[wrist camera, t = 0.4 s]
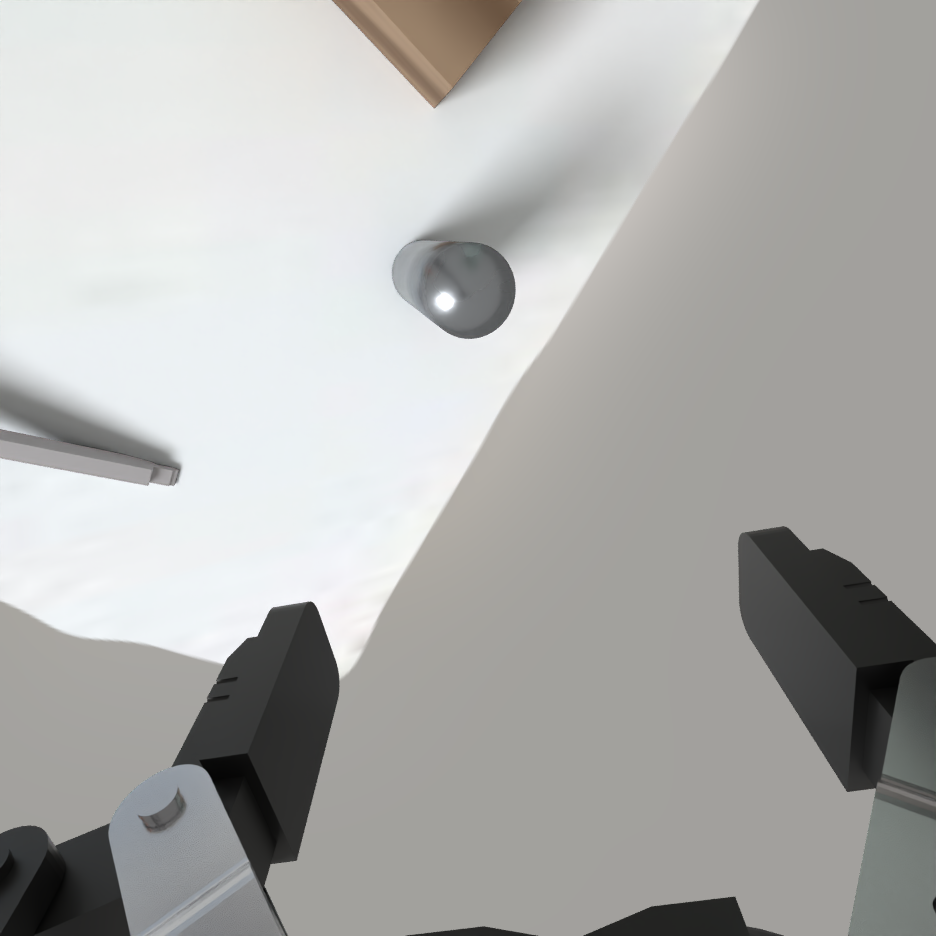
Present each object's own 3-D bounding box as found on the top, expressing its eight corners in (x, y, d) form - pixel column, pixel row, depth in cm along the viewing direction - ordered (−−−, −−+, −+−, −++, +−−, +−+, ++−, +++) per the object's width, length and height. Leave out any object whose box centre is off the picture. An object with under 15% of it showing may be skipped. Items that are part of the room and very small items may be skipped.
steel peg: (389, 303, 35) (420, 334, 24) (394, 235, 34) (429, 236, 23) (451, 309, 36) (508, 342, 25) (458, 244, 35) (521, 248, 24)
